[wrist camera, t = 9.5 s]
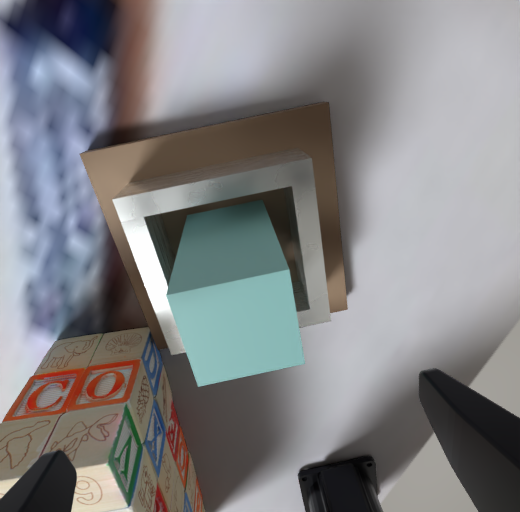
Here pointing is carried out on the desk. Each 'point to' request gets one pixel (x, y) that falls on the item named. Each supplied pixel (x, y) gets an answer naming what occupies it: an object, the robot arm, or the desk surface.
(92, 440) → the stack of blocks
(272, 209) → the base board
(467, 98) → the desk surface
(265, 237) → the teal block
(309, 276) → the frame
